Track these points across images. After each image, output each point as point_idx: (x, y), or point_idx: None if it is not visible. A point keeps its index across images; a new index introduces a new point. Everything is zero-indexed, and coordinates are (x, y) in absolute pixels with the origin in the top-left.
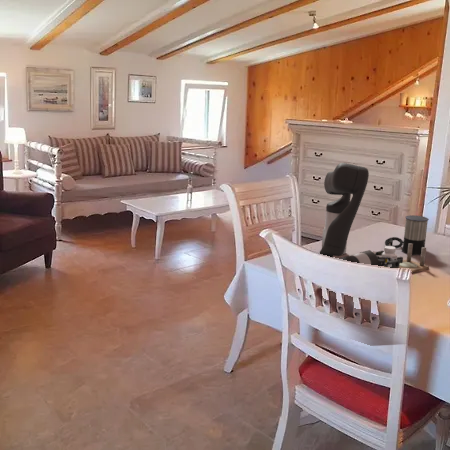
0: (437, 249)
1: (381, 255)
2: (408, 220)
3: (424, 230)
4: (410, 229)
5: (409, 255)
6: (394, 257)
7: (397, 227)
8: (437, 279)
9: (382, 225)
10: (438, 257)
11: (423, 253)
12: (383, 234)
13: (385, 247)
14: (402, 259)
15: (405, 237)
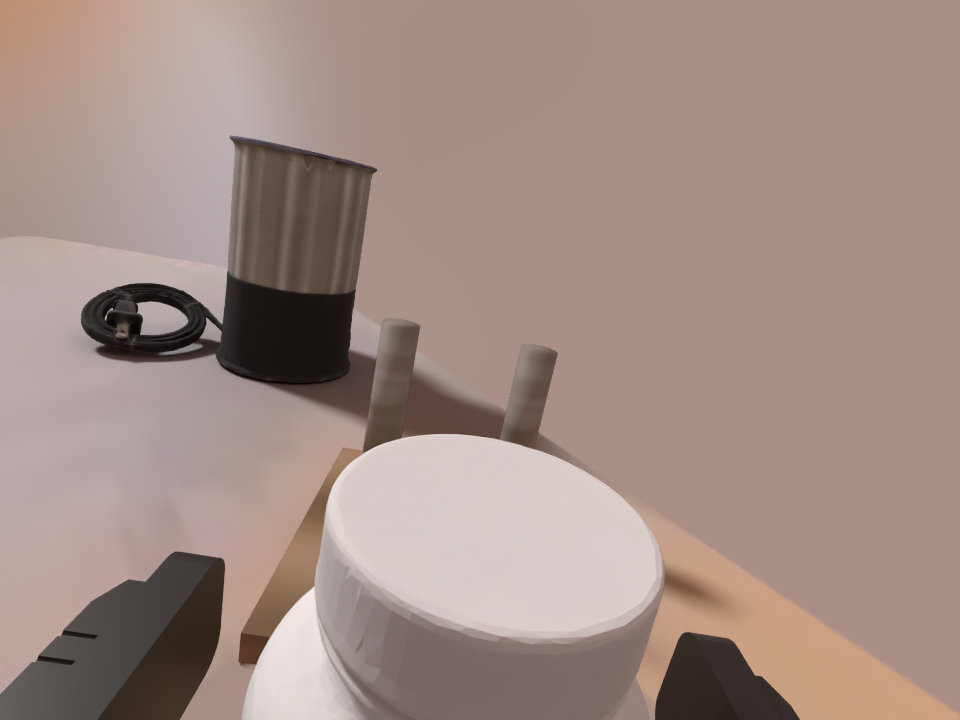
0: (359, 331)
1: (177, 691)
2: (267, 155)
3: (362, 231)
4: (287, 220)
5: (395, 426)
6: None
7: (113, 251)
8: (794, 645)
9: (36, 242)
10: (425, 375)
11: (542, 399)
12: (52, 276)
13: (420, 588)
14: (788, 716)
15: (247, 278)
